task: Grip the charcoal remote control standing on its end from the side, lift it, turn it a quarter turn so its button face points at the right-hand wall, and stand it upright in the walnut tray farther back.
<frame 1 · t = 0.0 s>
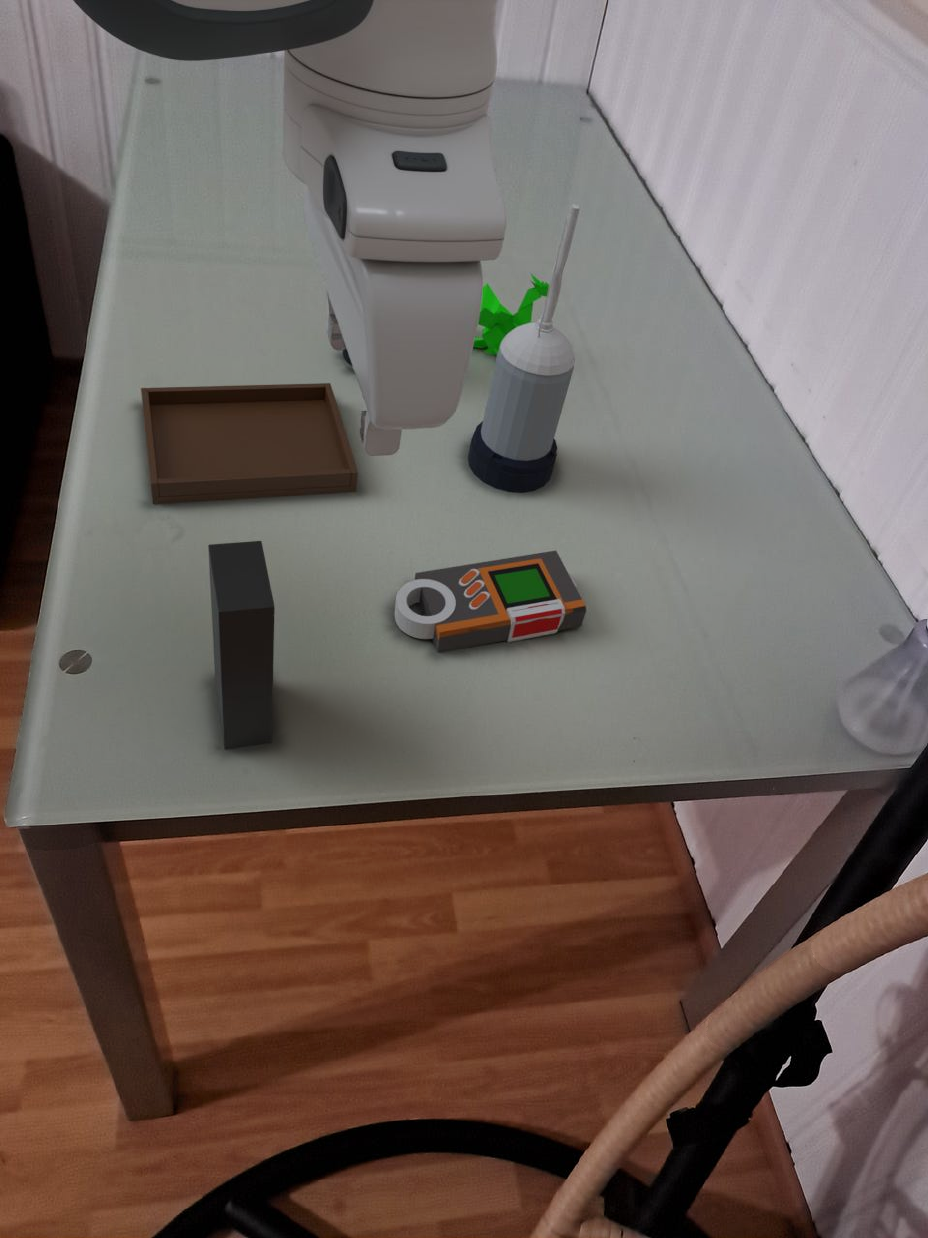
hand: (359, 392, 52), 25 cm above the table, tool pointing down, fingers open, 8 cm apart
humidifier: (509, 466, 91), on the table
figurine: (491, 352, 104), on the table
electronic device: (483, 614, 77), on the table
beverage can: (369, 365, 98), on the table
remote: (243, 713, 67), on the table
tray: (247, 449, 86), on the table
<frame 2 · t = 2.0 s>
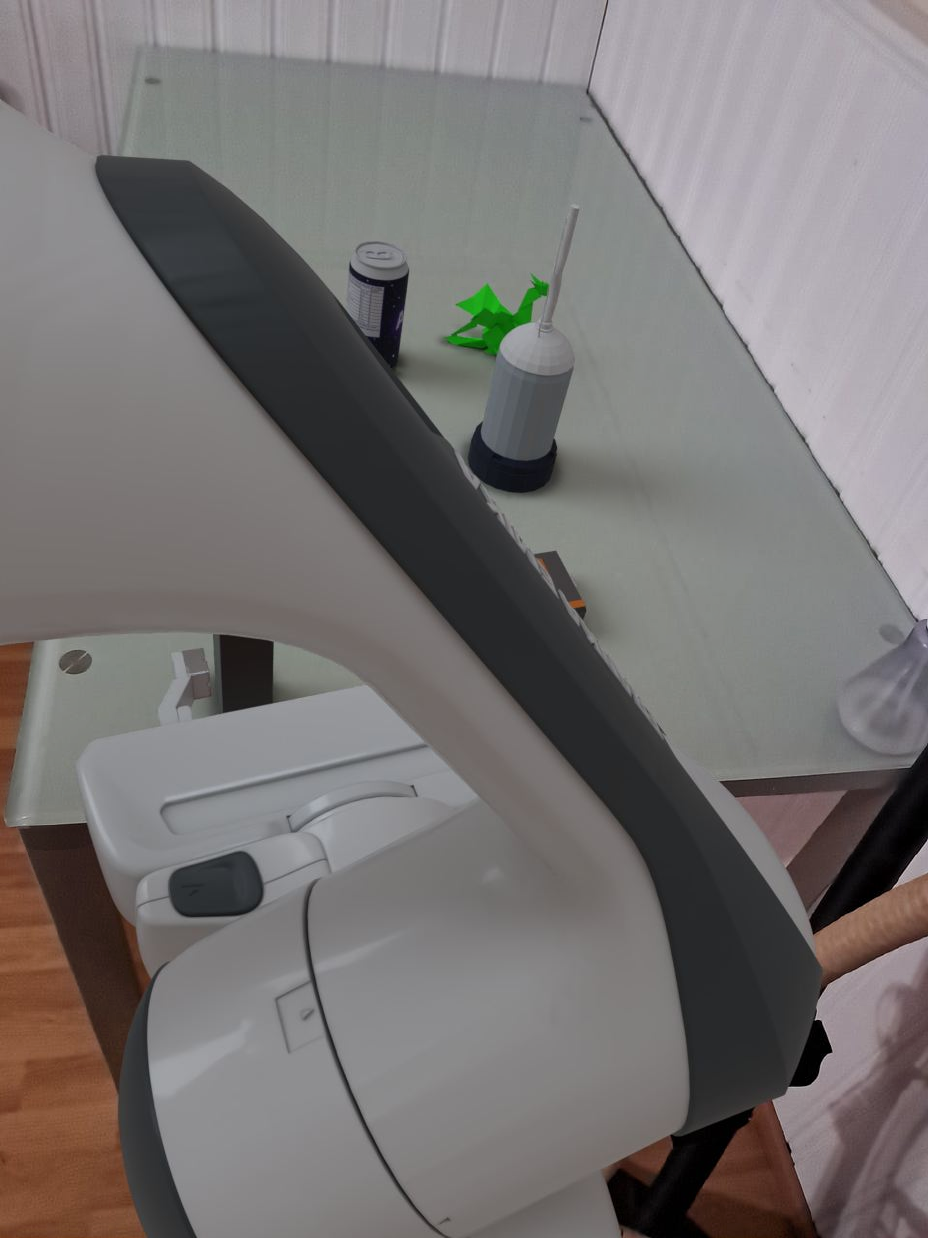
hand: (287, 640, 46), 20 cm above the table, tool horizontal, fingers open, 8 cm apart
nothing on the table moved.
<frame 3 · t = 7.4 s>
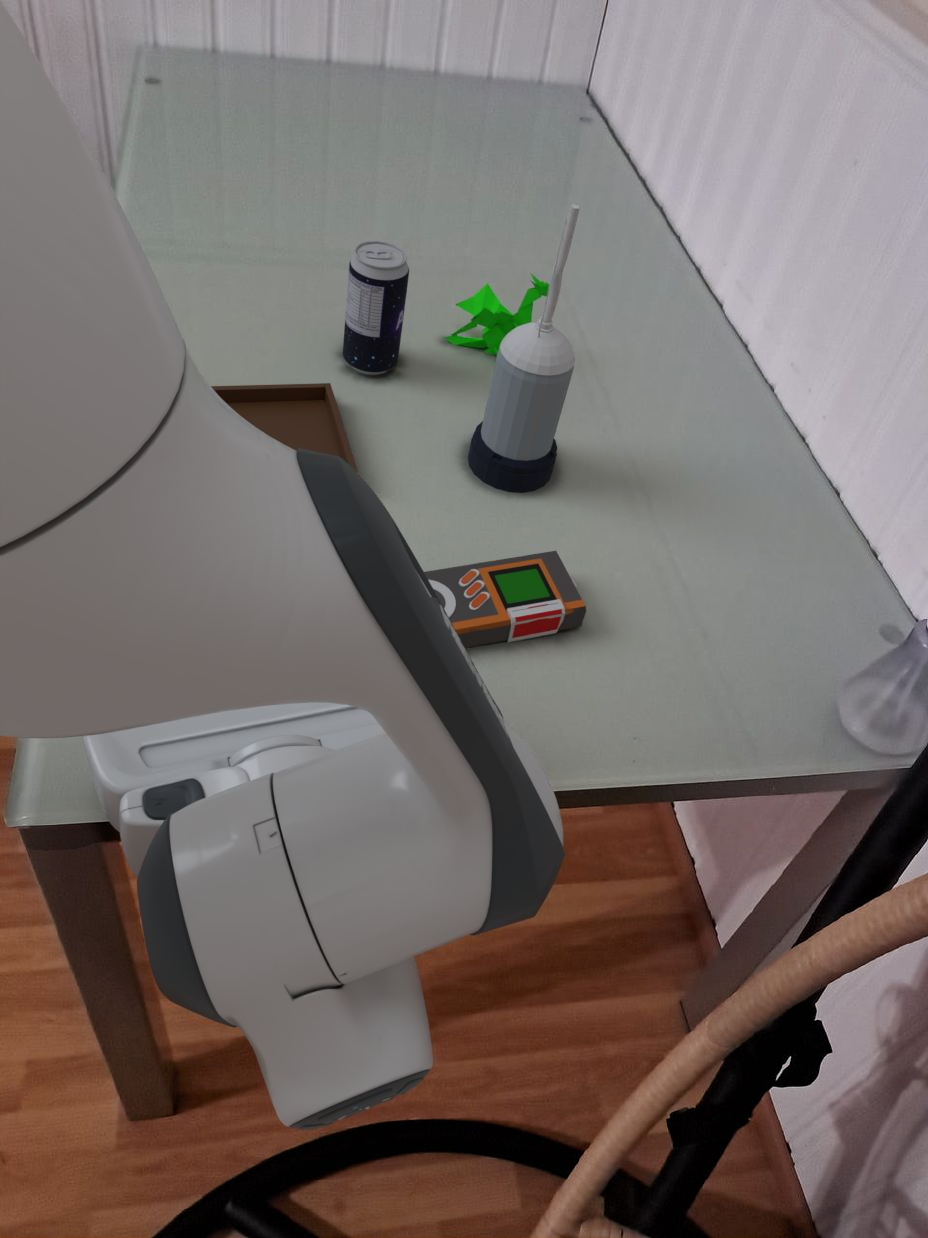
hand: (239, 632, 62), 8 cm above the table, tool horizontal, fingers closed on remote, 3 cm apart
remote: (243, 713, 67), on the table, touching gripper
everything else where it was.
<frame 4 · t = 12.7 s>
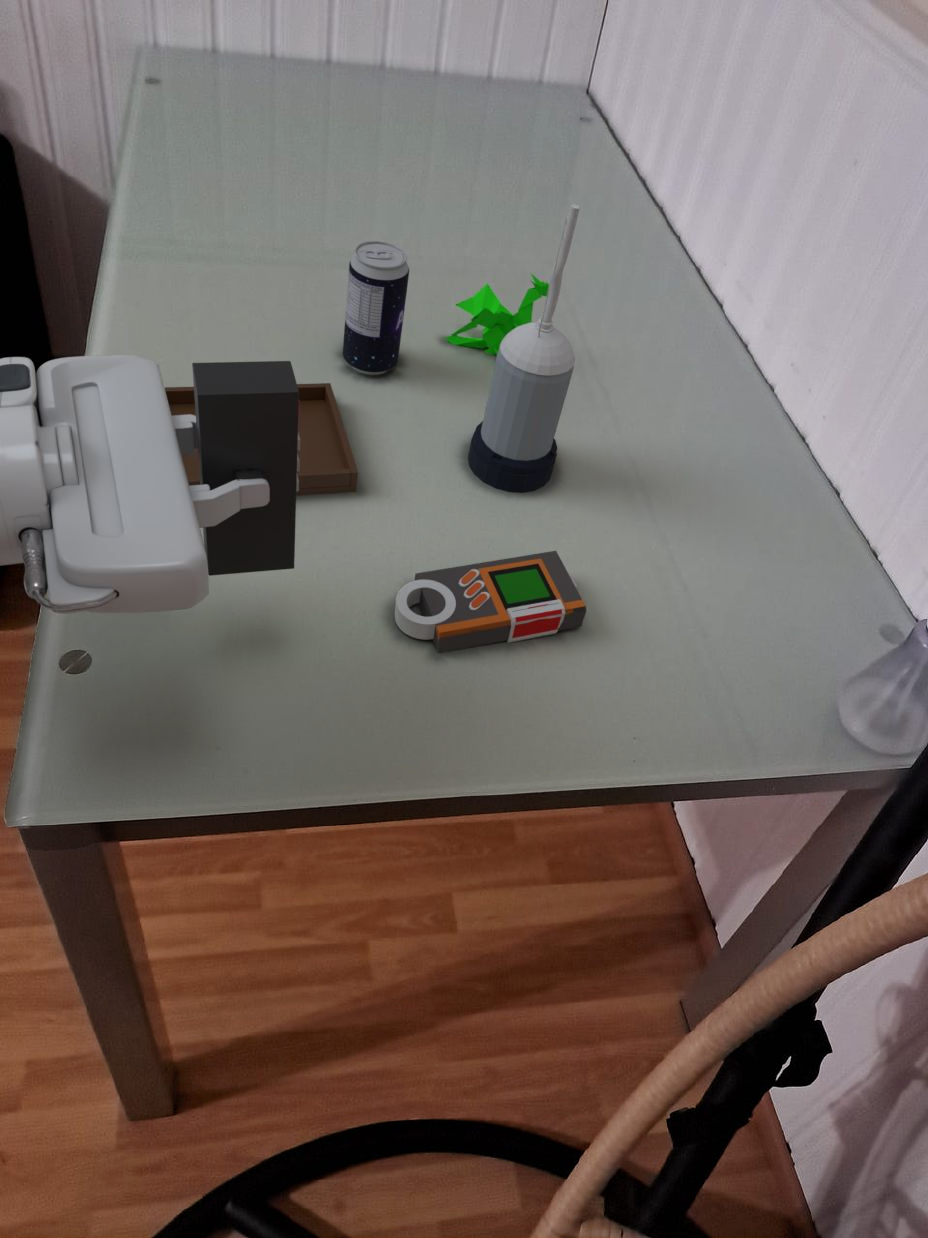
hand: (259, 462, 59), 17 cm above the table, tool horizontal, fingers closed on remote, 3 cm apart
remote: (249, 555, 64), point 9 cm above the table, touching gripper
everything else where it was.
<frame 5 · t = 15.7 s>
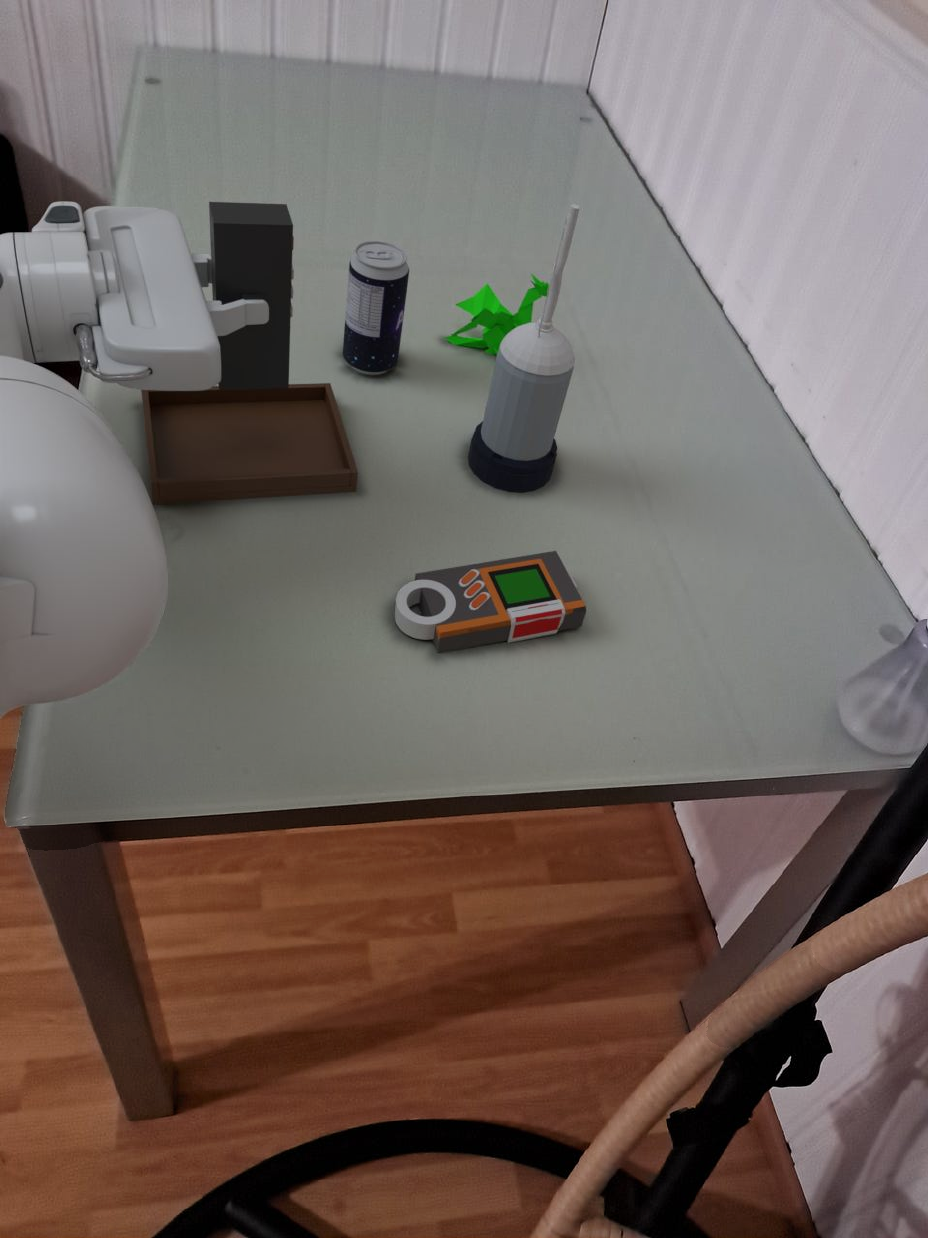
hand: (260, 291, 74), 16 cm above the table, tool horizontal, fingers closed on remote, 3 cm apart
remote: (251, 377, 79), point 8 cm above the table, touching gripper
everything else where it was.
when the fingers open (9 cm above the table, at t = 18.2 s): remote stays where it is, resting on tray.
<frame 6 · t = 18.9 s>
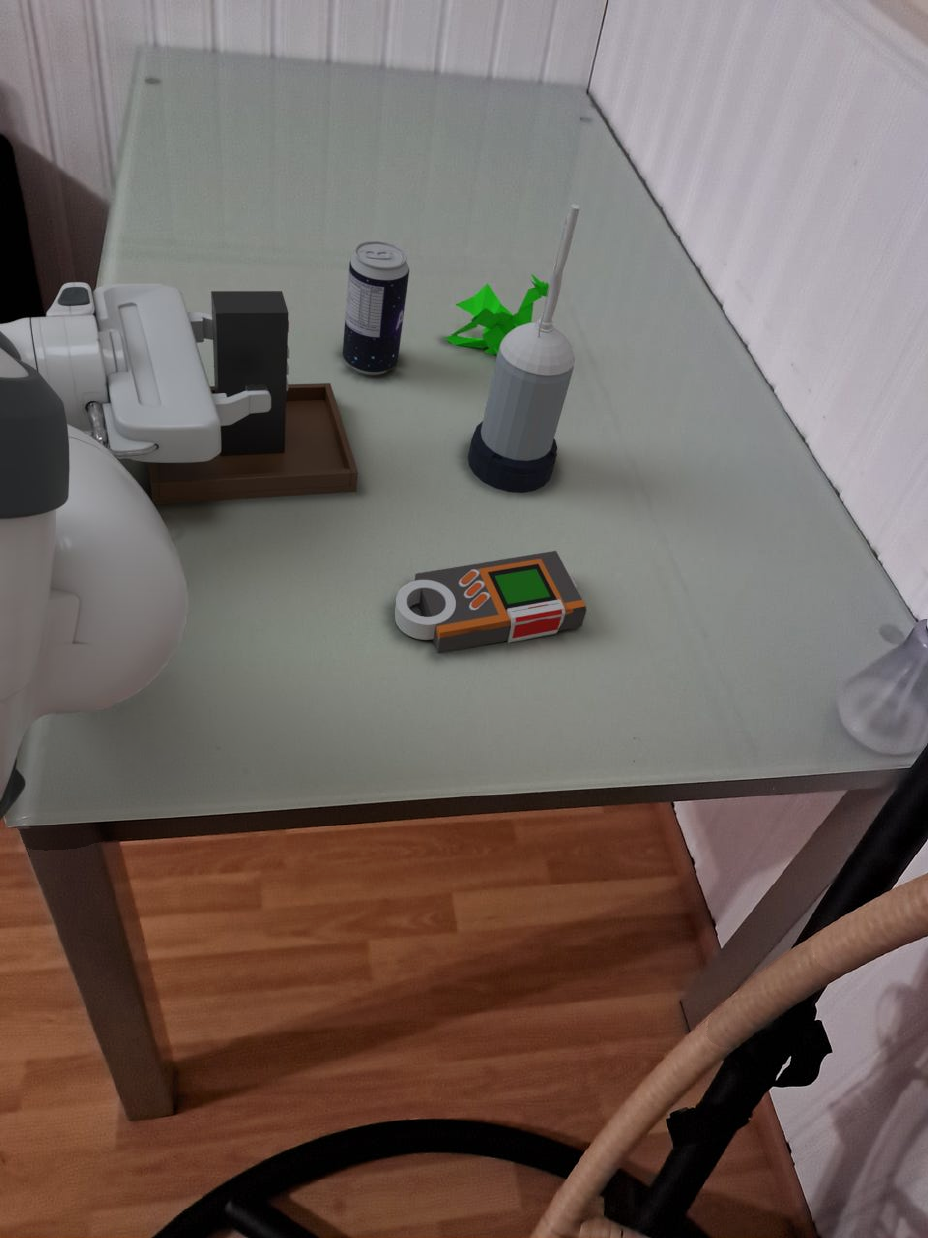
hand: (257, 363, 80), 9 cm above the table, tool horizontal, fingers open, 8 cm apart
remote: (250, 443, 85), point 1 cm above the table, touching tray
everything else where it was.
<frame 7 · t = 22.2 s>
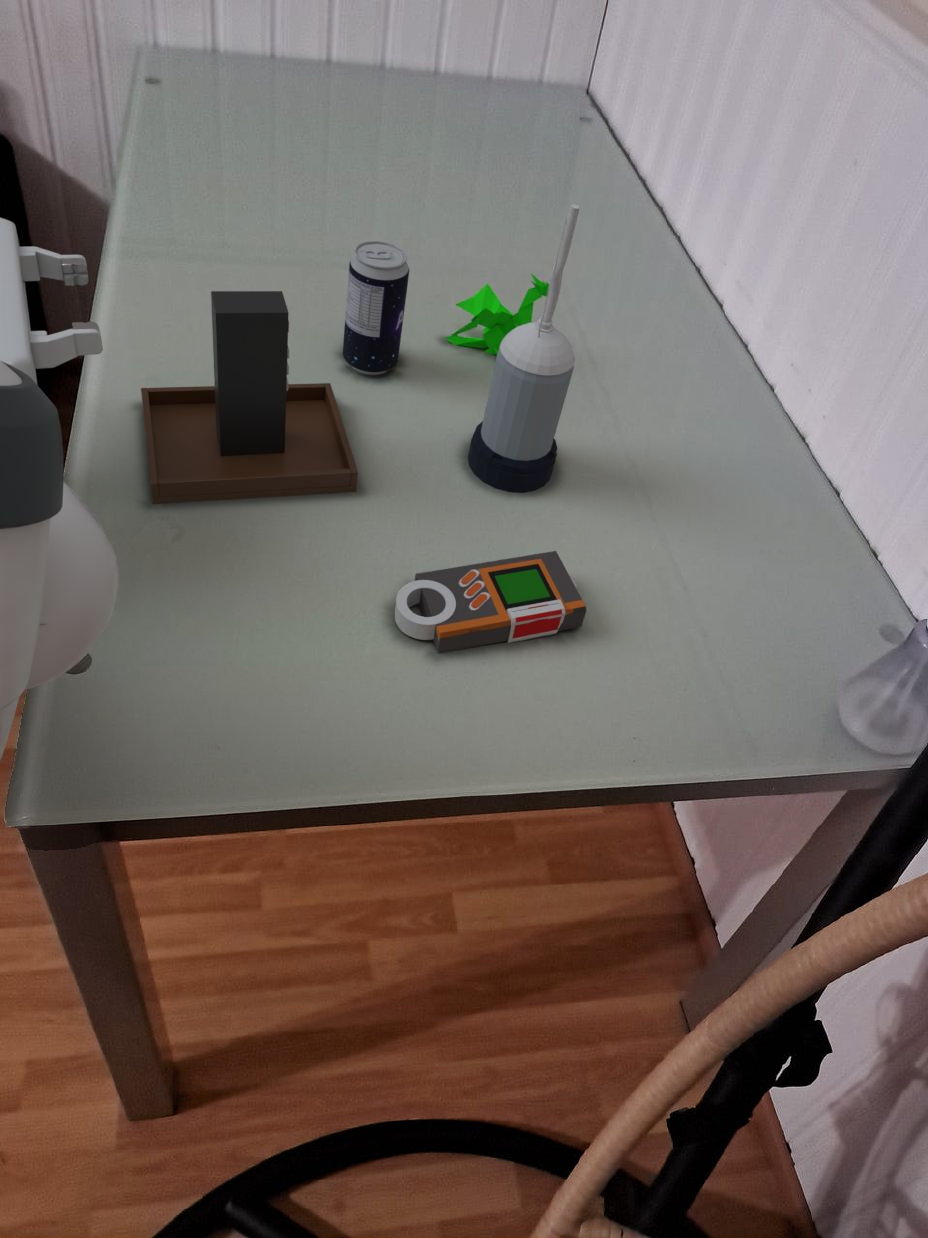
hand: (94, 302, 71), 15 cm above the table, tool horizontal, fingers open, 8 cm apart
nothing on the table moved.
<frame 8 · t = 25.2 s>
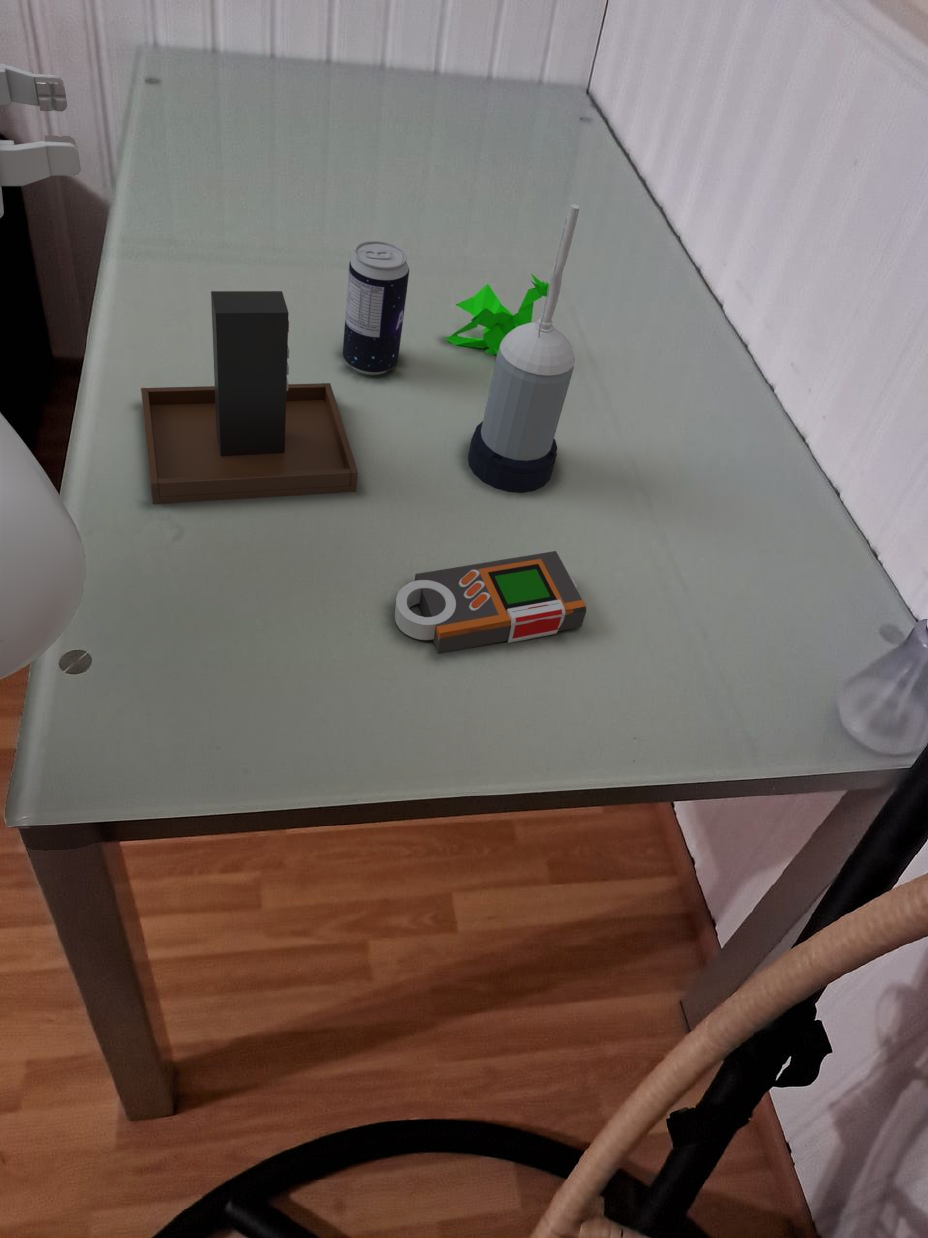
hand: (71, 122, 61), 28 cm above the table, tool horizontal, fingers open, 8 cm apart
nothing on the table moved.
at the end: remote inside the target area in the tray (0.2 cm from its centre), point 0.8 cm above the tray's base; remote tilted 0°; the gripper is holding nothing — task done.
